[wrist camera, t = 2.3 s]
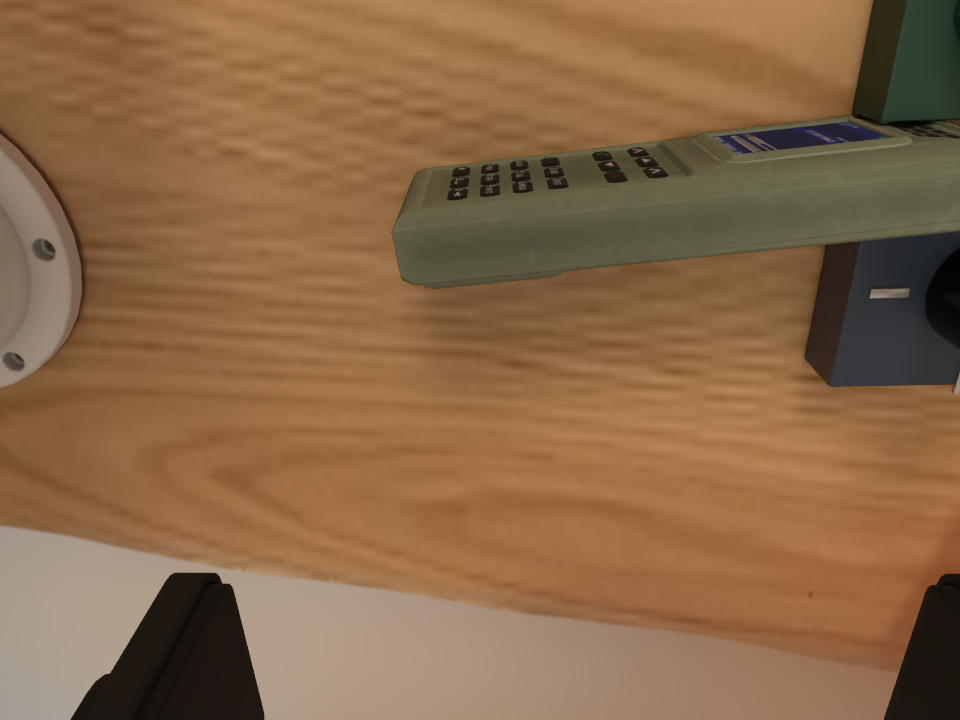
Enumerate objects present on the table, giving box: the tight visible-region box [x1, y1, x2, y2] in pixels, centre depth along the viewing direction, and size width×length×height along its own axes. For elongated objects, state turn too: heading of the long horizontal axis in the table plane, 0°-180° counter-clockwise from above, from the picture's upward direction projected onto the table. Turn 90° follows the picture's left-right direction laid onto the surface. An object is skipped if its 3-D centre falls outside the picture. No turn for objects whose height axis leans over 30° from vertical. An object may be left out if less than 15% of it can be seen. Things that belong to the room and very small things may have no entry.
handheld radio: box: [392, 115, 960, 289], centre depth 24 cm, size 7×3×25 cm
